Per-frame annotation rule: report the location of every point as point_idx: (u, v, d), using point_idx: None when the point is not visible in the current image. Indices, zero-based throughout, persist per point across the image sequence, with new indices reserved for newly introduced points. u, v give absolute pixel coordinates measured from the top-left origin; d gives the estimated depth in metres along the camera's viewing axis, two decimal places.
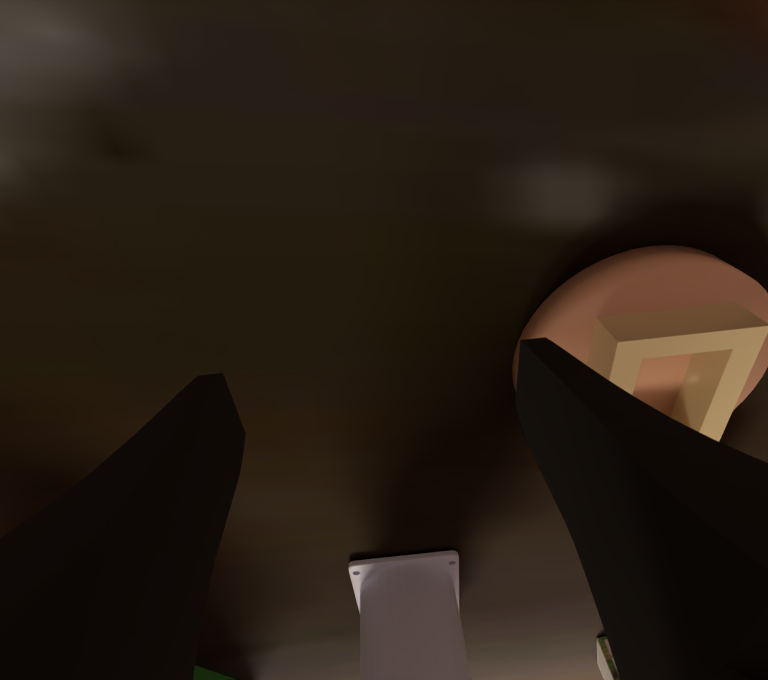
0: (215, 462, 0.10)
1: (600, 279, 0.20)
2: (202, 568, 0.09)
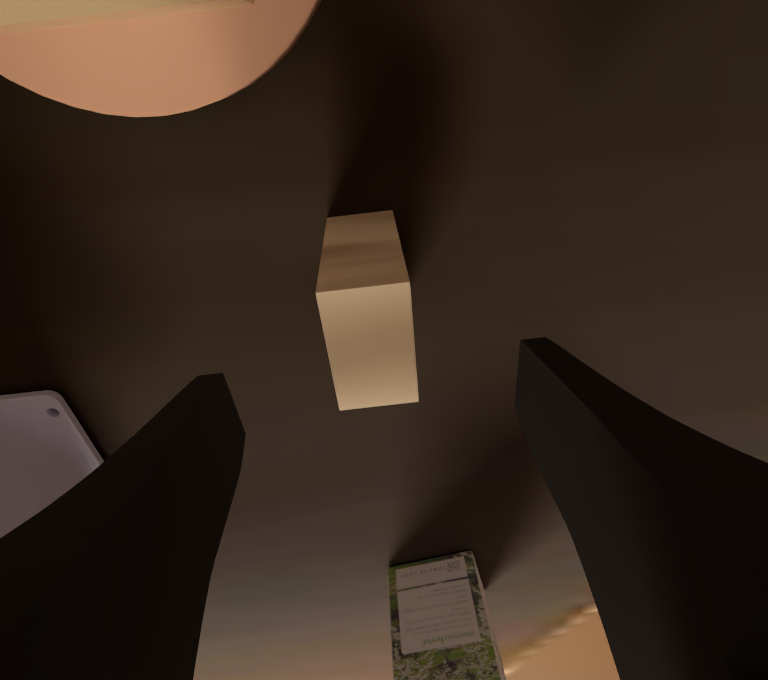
0: (215, 462, 0.10)
1: None
2: (202, 568, 0.09)
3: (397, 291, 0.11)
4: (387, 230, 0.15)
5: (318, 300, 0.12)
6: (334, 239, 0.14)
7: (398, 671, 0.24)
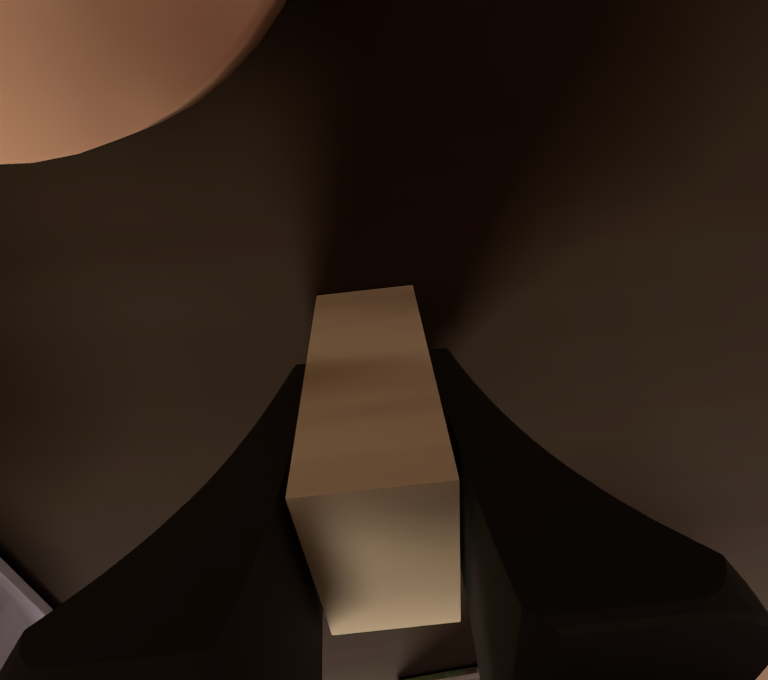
0: None
1: None
2: None
3: (435, 493, 0.06)
4: (408, 329, 0.09)
5: (291, 508, 0.06)
6: (325, 347, 0.09)
7: None
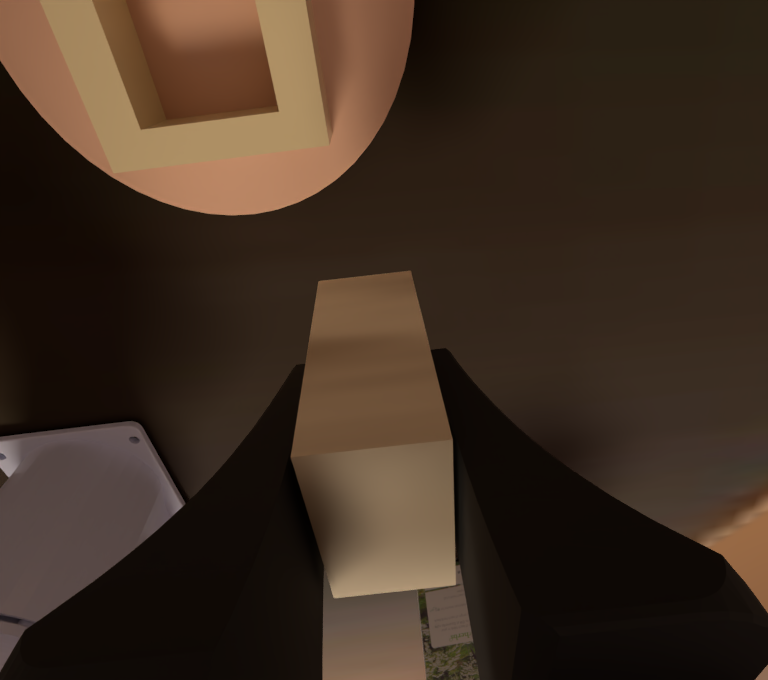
0: None
1: None
2: (319, 555, 0.09)
3: (430, 453, 0.07)
4: (406, 310, 0.10)
5: (296, 467, 0.07)
6: (327, 326, 0.10)
7: (429, 663, 0.27)
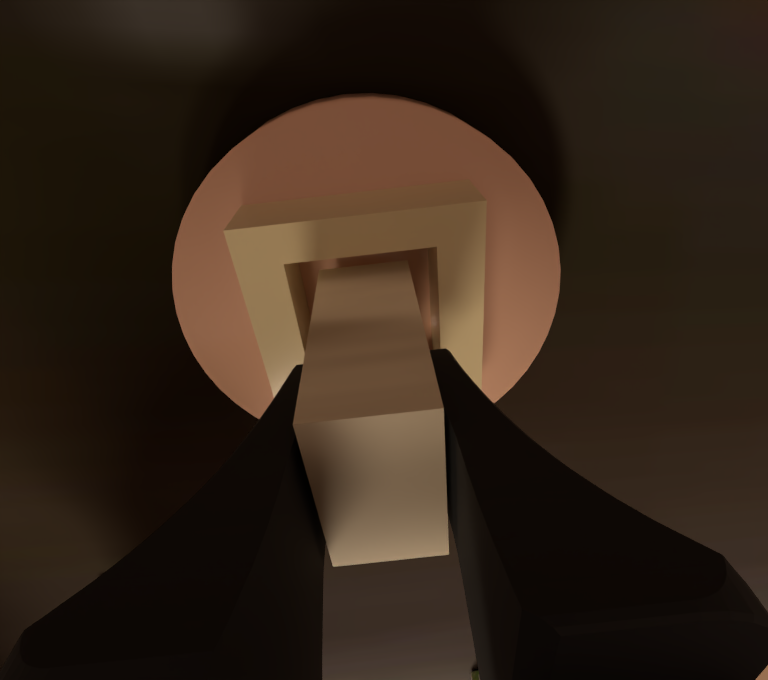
0: None
1: (242, 140, 0.12)
2: (319, 555, 0.09)
3: (423, 422, 0.07)
4: (402, 295, 0.10)
5: (297, 434, 0.07)
6: (327, 310, 0.10)
7: None
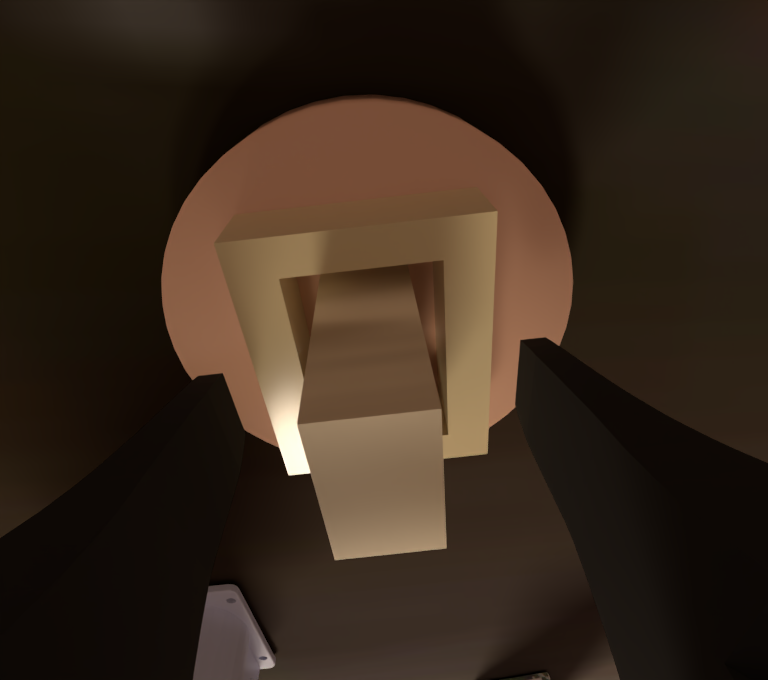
0: (215, 462, 0.10)
1: None
2: (202, 568, 0.09)
3: (421, 421, 0.08)
4: (402, 297, 0.11)
5: (301, 433, 0.08)
6: (329, 312, 0.10)
7: None
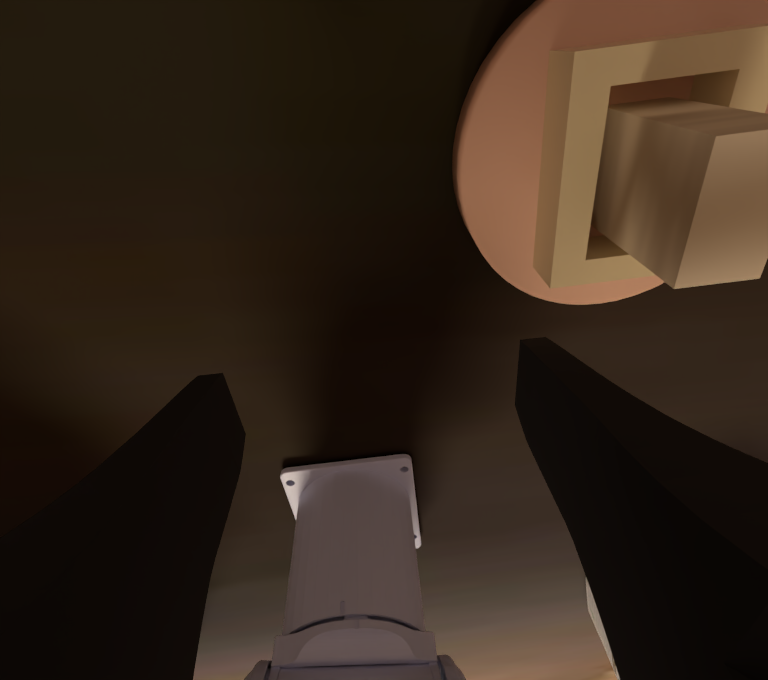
0: (215, 462, 0.10)
1: None
2: (202, 568, 0.09)
3: None
4: (697, 104, 0.14)
5: (713, 146, 0.11)
6: (646, 113, 0.13)
7: None
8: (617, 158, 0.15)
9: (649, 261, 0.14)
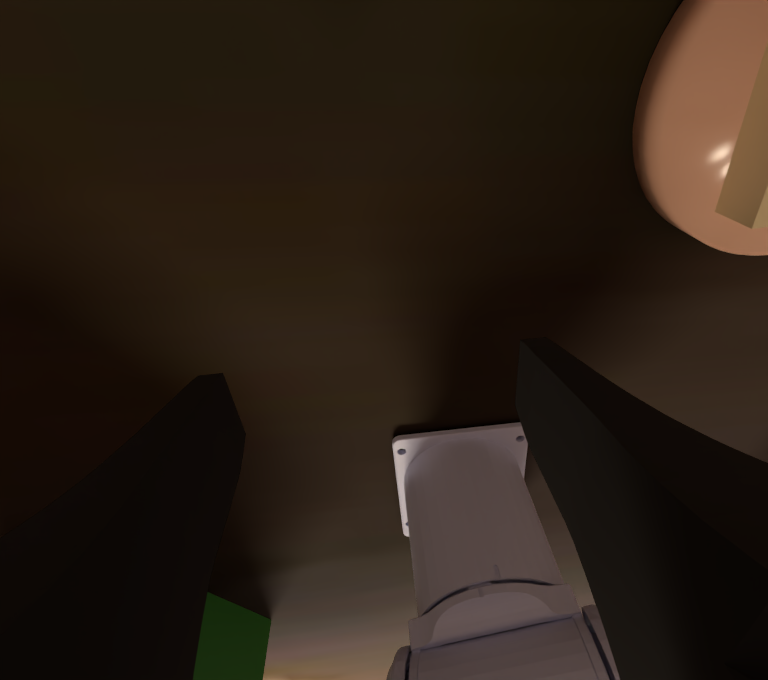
0: (215, 462, 0.10)
1: None
2: (202, 568, 0.09)
3: None
4: None
5: None
6: None
7: None
8: None
9: None
